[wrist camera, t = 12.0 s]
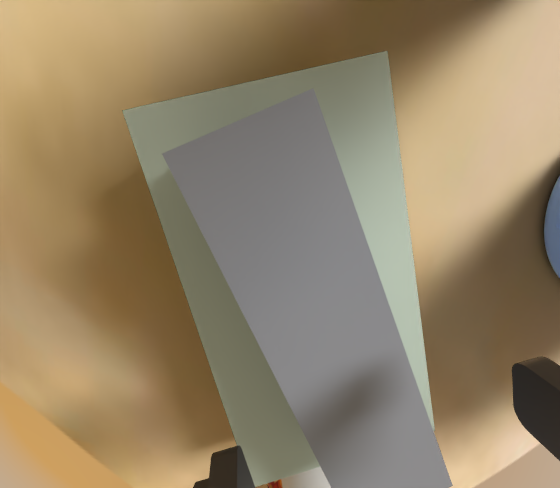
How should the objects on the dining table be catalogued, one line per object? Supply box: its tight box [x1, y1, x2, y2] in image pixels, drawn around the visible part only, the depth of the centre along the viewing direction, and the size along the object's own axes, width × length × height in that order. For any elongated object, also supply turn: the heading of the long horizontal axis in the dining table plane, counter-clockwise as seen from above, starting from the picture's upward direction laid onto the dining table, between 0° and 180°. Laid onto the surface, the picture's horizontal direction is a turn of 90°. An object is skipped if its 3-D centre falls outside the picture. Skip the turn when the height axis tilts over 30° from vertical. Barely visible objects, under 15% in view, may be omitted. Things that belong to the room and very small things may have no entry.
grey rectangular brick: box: [162, 88, 452, 488], centre depth 15 cm, size 5×18×5 cm, turn 23°
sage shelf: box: [122, 51, 435, 487], centre depth 20 cm, size 12×22×7 cm, turn 13°
